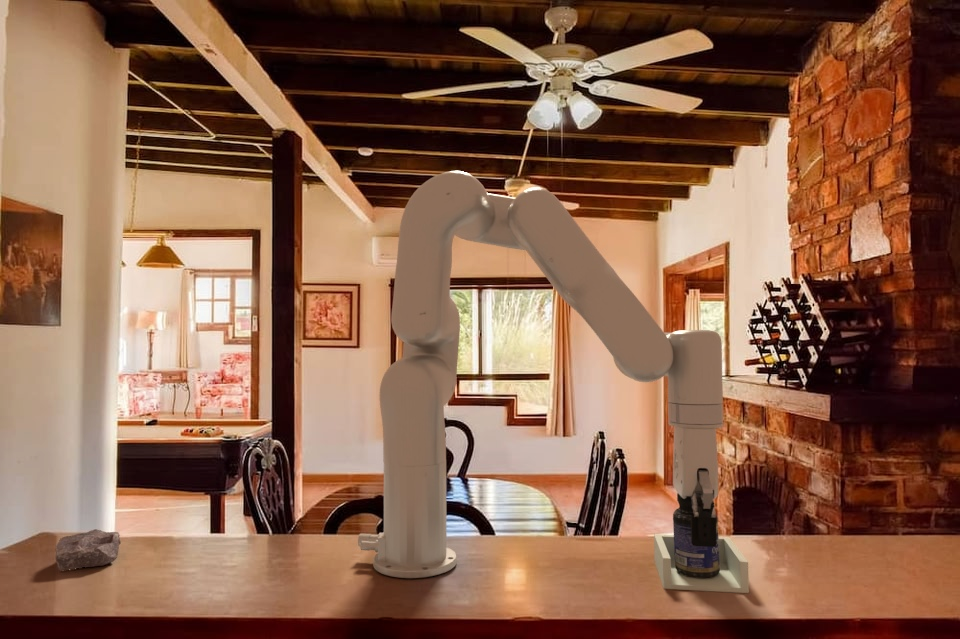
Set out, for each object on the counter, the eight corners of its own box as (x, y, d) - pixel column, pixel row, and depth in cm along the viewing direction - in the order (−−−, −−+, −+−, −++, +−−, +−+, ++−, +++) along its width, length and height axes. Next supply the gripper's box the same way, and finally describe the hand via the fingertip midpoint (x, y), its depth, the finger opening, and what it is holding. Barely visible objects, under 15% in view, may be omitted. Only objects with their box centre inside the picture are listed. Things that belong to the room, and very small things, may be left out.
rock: (126, 546, 107) (126, 519, 107) (114, 569, 96) (114, 539, 96) (70, 553, 104) (70, 524, 104) (50, 577, 93) (51, 545, 93)
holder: (663, 588, 87) (663, 558, 87) (654, 561, 98) (654, 534, 98) (748, 593, 85) (748, 562, 85) (729, 564, 96) (729, 537, 96)
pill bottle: (723, 580, 88) (720, 499, 88) (677, 578, 89) (674, 498, 89) (716, 564, 94) (712, 489, 94) (672, 563, 95) (669, 488, 95)
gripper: (661, 408, 101) (662, 517, 101) (677, 422, 84) (679, 553, 84) (710, 409, 100) (712, 519, 99) (737, 423, 83) (739, 556, 82)
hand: (697, 535), depth 91 cm, fingers open, 9 cm apart
